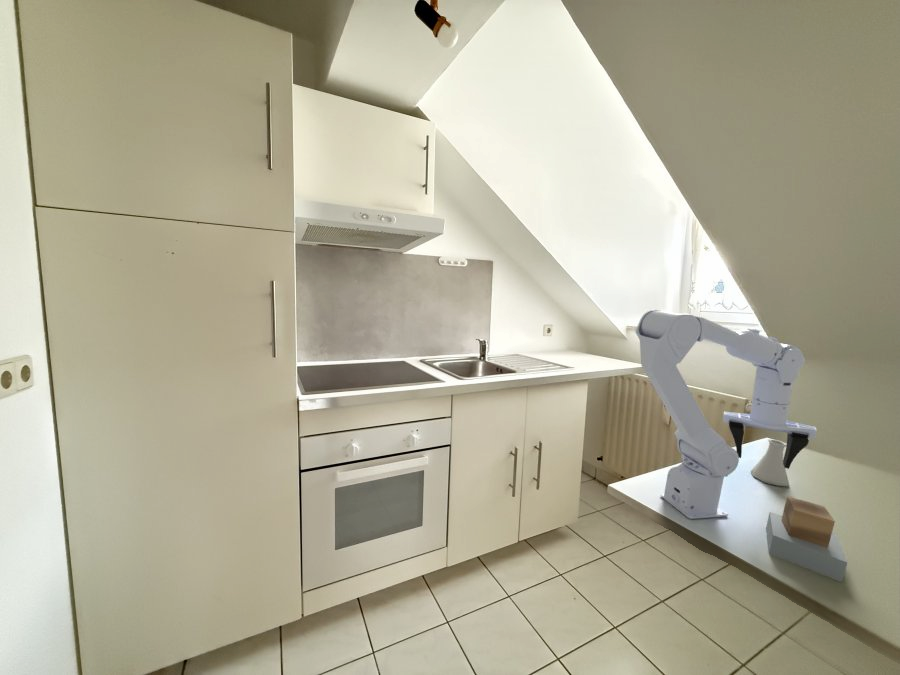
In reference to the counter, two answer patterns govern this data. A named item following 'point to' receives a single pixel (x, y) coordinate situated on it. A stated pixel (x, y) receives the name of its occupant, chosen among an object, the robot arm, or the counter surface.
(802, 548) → the slate block
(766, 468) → the flask
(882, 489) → the counter surface
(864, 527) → the counter surface
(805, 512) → the walnut cube
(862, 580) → the counter surface
